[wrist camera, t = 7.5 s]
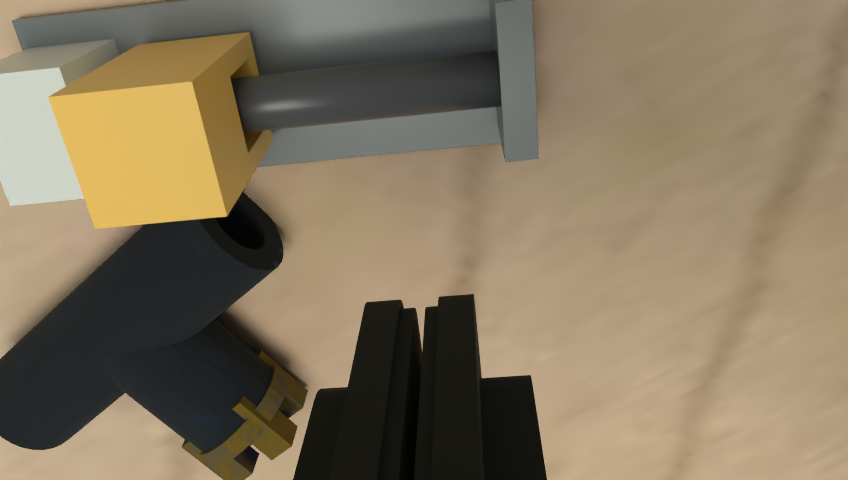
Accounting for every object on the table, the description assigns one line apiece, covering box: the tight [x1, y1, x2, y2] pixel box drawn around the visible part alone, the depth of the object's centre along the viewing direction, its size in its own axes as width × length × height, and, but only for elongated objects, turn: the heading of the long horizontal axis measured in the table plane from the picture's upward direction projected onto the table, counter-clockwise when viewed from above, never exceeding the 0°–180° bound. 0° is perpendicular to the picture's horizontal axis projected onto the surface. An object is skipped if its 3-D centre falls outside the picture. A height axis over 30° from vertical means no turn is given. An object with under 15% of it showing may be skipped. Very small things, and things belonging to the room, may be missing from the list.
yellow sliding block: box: [48, 32, 273, 229], centre depth 25 cm, size 4×4×7 cm
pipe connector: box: [0, 191, 307, 480], centre depth 34 cm, size 12×5×15 cm
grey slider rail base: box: [0, 0, 539, 206], centre depth 27 cm, size 20×7×5 cm, turn 96°
